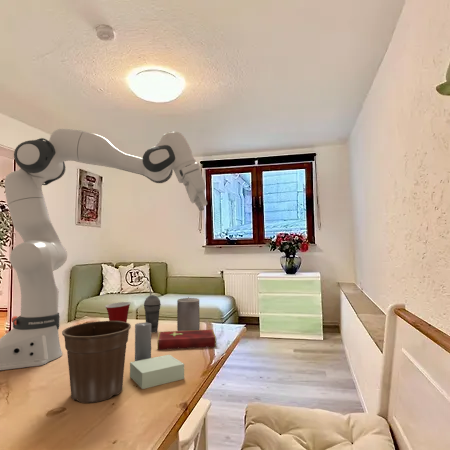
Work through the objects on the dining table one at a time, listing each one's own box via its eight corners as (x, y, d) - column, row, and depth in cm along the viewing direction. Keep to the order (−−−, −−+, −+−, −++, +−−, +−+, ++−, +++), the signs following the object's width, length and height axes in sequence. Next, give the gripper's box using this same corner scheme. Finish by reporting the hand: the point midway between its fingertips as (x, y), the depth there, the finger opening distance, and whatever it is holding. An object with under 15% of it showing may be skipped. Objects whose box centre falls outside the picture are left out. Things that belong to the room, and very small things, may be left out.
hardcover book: (216, 348, 122) (216, 336, 122) (157, 351, 119) (157, 339, 119) (212, 339, 134) (212, 328, 134) (159, 341, 131) (159, 331, 131)
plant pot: (58, 414, 73) (60, 339, 74) (62, 386, 88) (63, 324, 89) (134, 400, 80) (135, 331, 81) (125, 376, 95) (126, 318, 96)
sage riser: (142, 389, 86) (142, 373, 86) (129, 376, 94) (130, 362, 94) (184, 378, 92) (184, 363, 93) (169, 368, 101) (169, 354, 101)
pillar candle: (180, 328, 150) (180, 294, 151) (202, 329, 149) (201, 295, 149) (174, 334, 140) (174, 298, 141) (197, 335, 139) (196, 298, 140)
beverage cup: (158, 333, 141) (158, 286, 142) (141, 333, 141) (141, 286, 142) (162, 329, 148) (162, 284, 150) (145, 329, 148) (146, 284, 150)
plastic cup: (107, 328, 151) (108, 301, 152) (132, 327, 152) (132, 301, 153) (101, 334, 140) (102, 305, 141) (128, 333, 142) (128, 305, 142)
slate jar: (137, 366, 102) (138, 326, 103) (132, 362, 106) (133, 323, 107) (153, 363, 105) (153, 324, 106) (147, 359, 109) (148, 321, 110)
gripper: (179, 184, 131) (193, 216, 130) (181, 167, 111) (198, 205, 110) (193, 178, 132) (208, 210, 131) (199, 161, 112) (215, 198, 111)
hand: (203, 208), depth 120 cm, fingers open, 8 cm apart
